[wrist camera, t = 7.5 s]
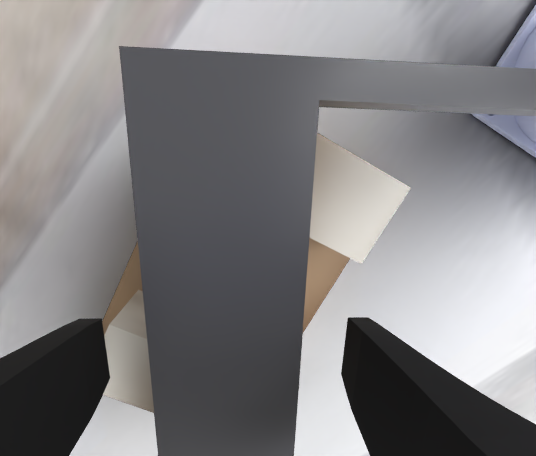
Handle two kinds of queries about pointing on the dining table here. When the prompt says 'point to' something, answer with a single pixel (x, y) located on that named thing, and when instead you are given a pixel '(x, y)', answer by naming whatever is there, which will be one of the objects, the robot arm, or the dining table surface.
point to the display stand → (318, 269)
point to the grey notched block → (250, 220)
